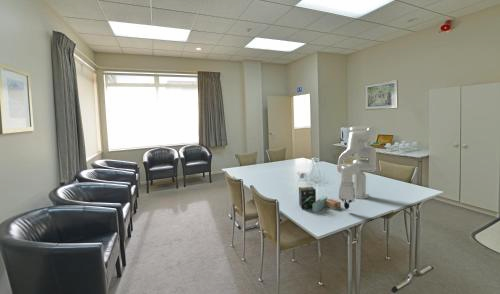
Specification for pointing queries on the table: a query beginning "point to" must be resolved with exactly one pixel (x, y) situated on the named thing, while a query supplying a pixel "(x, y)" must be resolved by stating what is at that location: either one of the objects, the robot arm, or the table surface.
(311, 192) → the tampon box
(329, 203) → the block
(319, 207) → the board
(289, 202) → the table surface
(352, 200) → the robot arm
